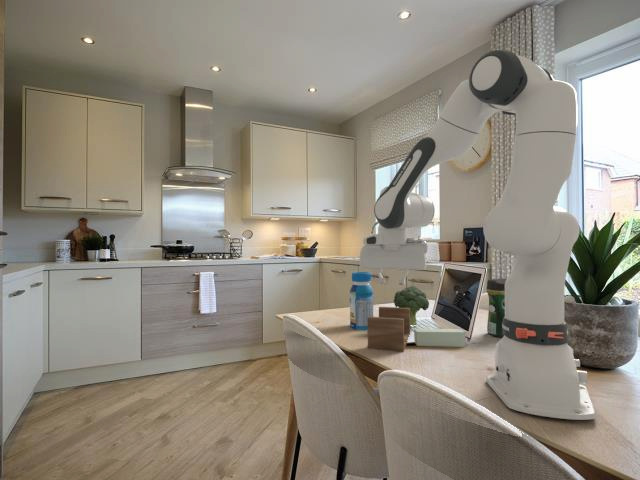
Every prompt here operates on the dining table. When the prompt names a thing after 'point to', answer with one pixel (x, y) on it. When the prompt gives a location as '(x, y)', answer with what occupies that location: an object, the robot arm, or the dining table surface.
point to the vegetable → (411, 301)
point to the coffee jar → (496, 306)
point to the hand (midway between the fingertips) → (392, 284)
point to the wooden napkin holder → (389, 329)
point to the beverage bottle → (361, 300)
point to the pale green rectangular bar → (440, 337)
